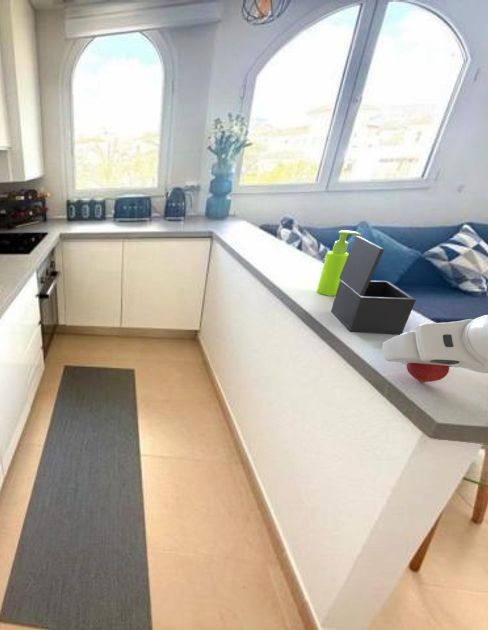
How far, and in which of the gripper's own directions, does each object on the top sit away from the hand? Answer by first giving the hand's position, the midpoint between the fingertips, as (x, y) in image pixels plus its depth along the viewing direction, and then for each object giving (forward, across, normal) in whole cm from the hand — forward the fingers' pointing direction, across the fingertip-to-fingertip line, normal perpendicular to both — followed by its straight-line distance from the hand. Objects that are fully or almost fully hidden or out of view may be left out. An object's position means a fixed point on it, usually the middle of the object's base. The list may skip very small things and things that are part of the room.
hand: (426, 361), depth 69 cm
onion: (+3, 0, +4) cm, 5 cm away
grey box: (+22, -1, -15) cm, 27 cm away
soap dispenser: (+37, 0, -30) cm, 48 cm away
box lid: (+10, +4, -27) cm, 29 cm away
